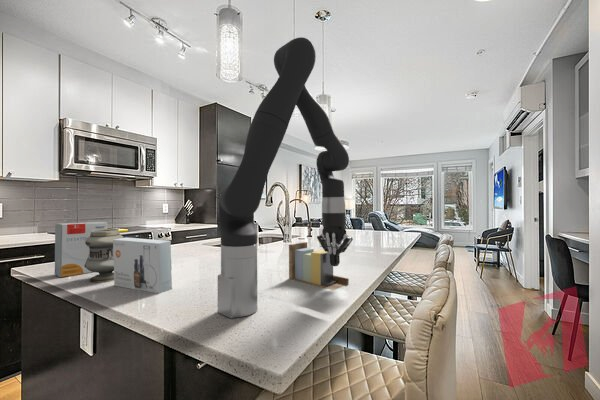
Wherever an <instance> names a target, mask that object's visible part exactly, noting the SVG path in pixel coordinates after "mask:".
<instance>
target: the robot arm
mask: <svg viewBox="0 0 600 400" xmlns="http://www.w3.org/2000/svg"><path fill="white" fill-rule="evenodd" d="M315 49H316V48H315V46H314V44H313V43H312V41H311V40H310V39H308V38H307V37H302V36H301V37H297V38H296V37H295V38H293V39H292V40H289V41H288V42H286V43H285V44H283V45H281V46H280V47H279V48H278V49H277V50H276V51H275V53H274V56H273V64H274V68H275V70H276V72H277V75H278V78H277V80H276V82H275V83H274V84H273V86H272V87H271V88H270V90H269V91H268V92H267V94H266V95H265V97H264V98H263V99H262V101H261V102H260V104H259V105H258V107H257V109H256V111H255V114H253V115H254V116H253V119H252V121H251V123H250V125H249V128H248V132H247V135H246V138H245V139H246V141H245V146H244V151H243V152H244V153H243V156H242V159H241V162H240V163H239V166H238V168H237V170H236V172H235V175H234V176H233V178H232V180H231V182H230V184H228V185H226V186H224V187H223V189H222V190H221V192H220V193H219V197H218V198H219V200H218V221H219V226H218V229H219V235H220V274H217V313H218V314H220V315H223V316H225V317H227V318H229V319H233V318H234V319H235V318H240V317H241V318H242V317H246V316H251V315H252V314H255V313H256V312H257V311H258V234H257V231H256V228H255V215H254V214H255V213H256V211H257V210H258V209H259V206H260V203H261V201H262V196H263V193H264V189H265V185H266V182H267V178H268V175H269V172H270V169H271V167H272V165H273V163H274V160H275V159H276V158H277V157H276V156H277V154H278V151H279V149H280V147H281V144H282V142H283V141H284V140H283V139H284V137H285V135H286V132H287V129H288V128H289V123H290V121H291V118H292V117H293V114H294V111H295V108H297V109H298V111H299V112H300V114H301V117H302V118H303V120H304V123H305V125H306V128H307V131H308V133H309V136H310V138H311V140H312V142H313V144H314V146H316V147H321V148H324V149H326V150H322V151H320V152H319V153H318V155H317V157H316V162H315V163H316V169H317V172H318V175H319V180H320V183H321V190H322V191H321V192H322V193H321V195H322V196H321V197H322V201H321V225H322V227H323V228H322V232H321V234H319V235H317V236H316V239H317V241H318V242H319V244H320V245H321V247H322V250H323V251H325V252H326V251H327V252H329V254H330V264H331V266H333V267H338V266H339V265H340V262H341V261H340V254H341V253H345V252H346V251H347V250H348V247H350V245H351V243H352V242H353V240H354V238H353V237H352V236H349V235H348V234H347V230H346V225H347V224H346V201H345V183H344V180H343V179H341V178H336V177H335V175H334V173H333V172H340V171H344V170H346V169H347V168H348V167H349V163H350V156H349V153H348V151H347V149H346V148H345V146H344V145H343V144H342V142H341V140H340V139H339V138H338V136H337V135H336V134H335V131H334V129H333V126H332V123H331V121H330V119H329V116H328V114H327V112H326V110H325V109H324V108H323V107H322V105H321V104H320V103H319V102H318V101H317V100H316V99H315V98H314V96H313V95H312V94H311V92H310V90H309V89H308V88H307V86H306V83H307V81H308V79H309V77H310V75H311V73H312V71H313V69H314V68H315V67H314V66H315V64H316V57H317V55H316V50H315Z"/></svg>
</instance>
